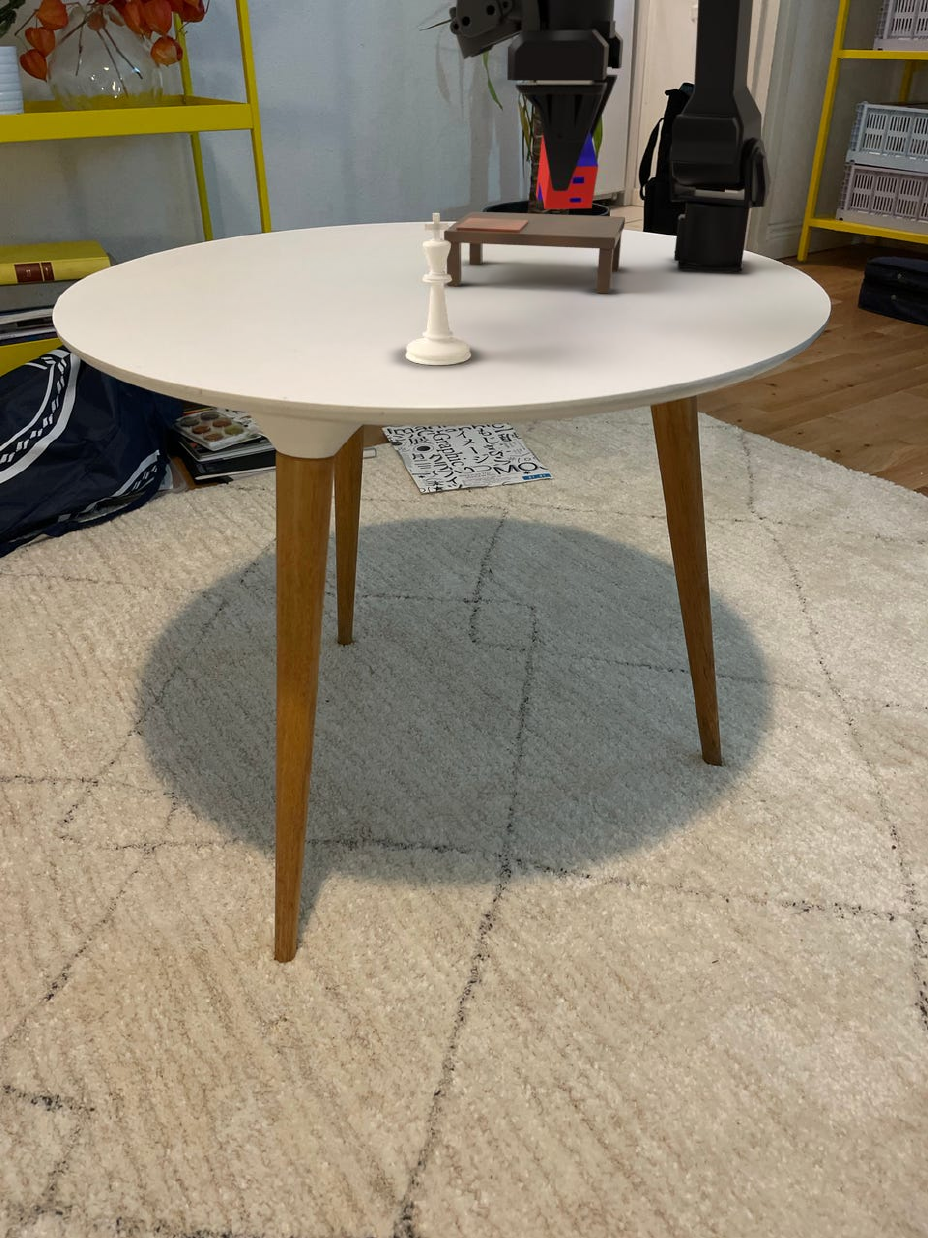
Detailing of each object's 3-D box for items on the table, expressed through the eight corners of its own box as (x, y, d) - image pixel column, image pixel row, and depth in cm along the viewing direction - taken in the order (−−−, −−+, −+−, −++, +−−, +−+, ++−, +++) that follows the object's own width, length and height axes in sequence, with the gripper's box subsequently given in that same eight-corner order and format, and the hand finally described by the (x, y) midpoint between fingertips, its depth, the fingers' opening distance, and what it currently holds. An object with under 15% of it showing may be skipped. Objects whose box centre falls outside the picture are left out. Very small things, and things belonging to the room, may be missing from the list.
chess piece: (404, 347, 74) (400, 208, 69) (467, 345, 75) (468, 207, 69) (406, 366, 70) (402, 219, 65) (473, 364, 70) (474, 218, 65)
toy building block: (542, 228, 74) (554, 130, 67) (535, 193, 76) (546, 95, 69) (588, 227, 74) (604, 129, 67) (580, 192, 76) (595, 94, 69)
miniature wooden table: (620, 268, 100) (625, 214, 97) (611, 294, 90) (615, 235, 87) (470, 261, 102) (470, 209, 100) (444, 286, 92) (443, 228, 90)
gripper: (484, -58, 74) (483, 166, 82) (426, -76, 58) (433, 201, 67) (630, -61, 72) (615, 168, 80) (611, -81, 56) (594, 205, 65)
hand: (565, 184), depth 73 cm, fingers closed on toy building block, 6 cm apart
